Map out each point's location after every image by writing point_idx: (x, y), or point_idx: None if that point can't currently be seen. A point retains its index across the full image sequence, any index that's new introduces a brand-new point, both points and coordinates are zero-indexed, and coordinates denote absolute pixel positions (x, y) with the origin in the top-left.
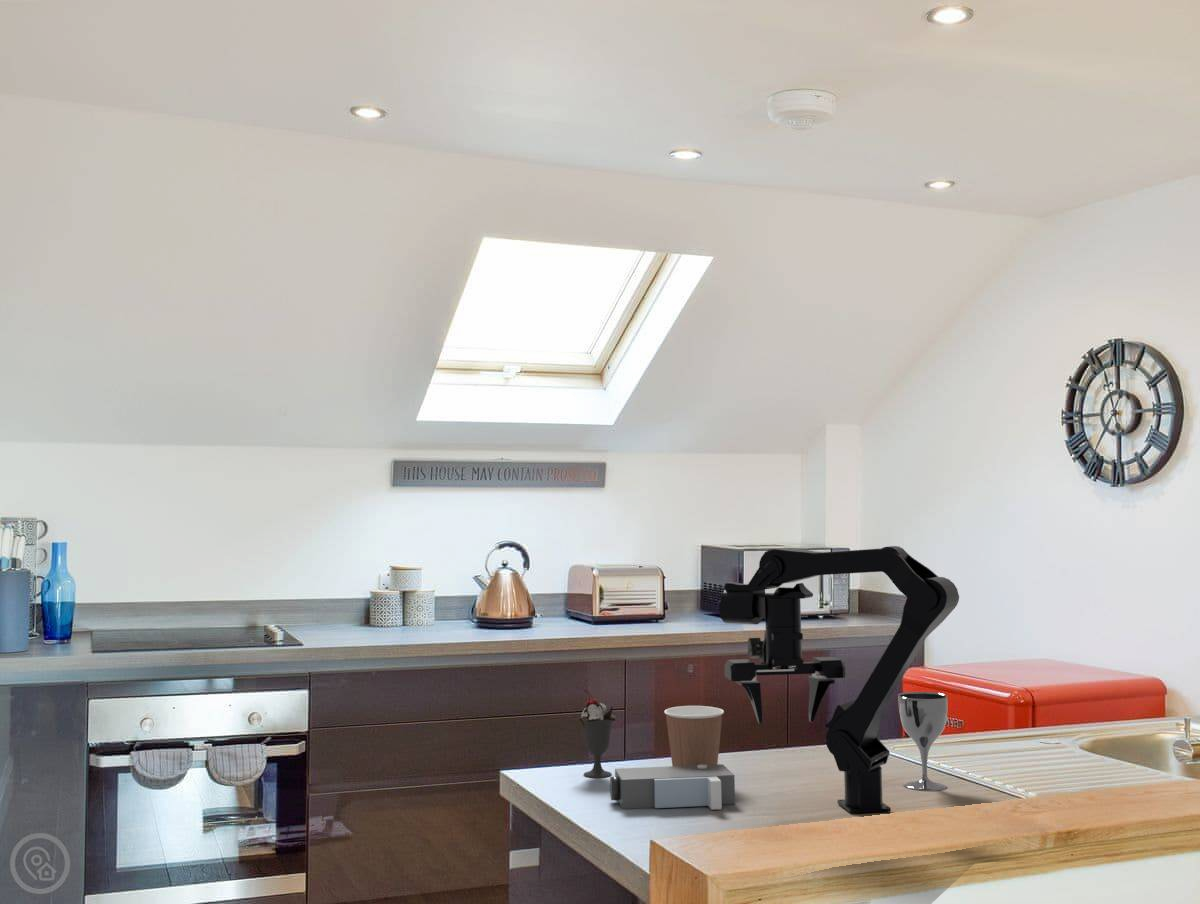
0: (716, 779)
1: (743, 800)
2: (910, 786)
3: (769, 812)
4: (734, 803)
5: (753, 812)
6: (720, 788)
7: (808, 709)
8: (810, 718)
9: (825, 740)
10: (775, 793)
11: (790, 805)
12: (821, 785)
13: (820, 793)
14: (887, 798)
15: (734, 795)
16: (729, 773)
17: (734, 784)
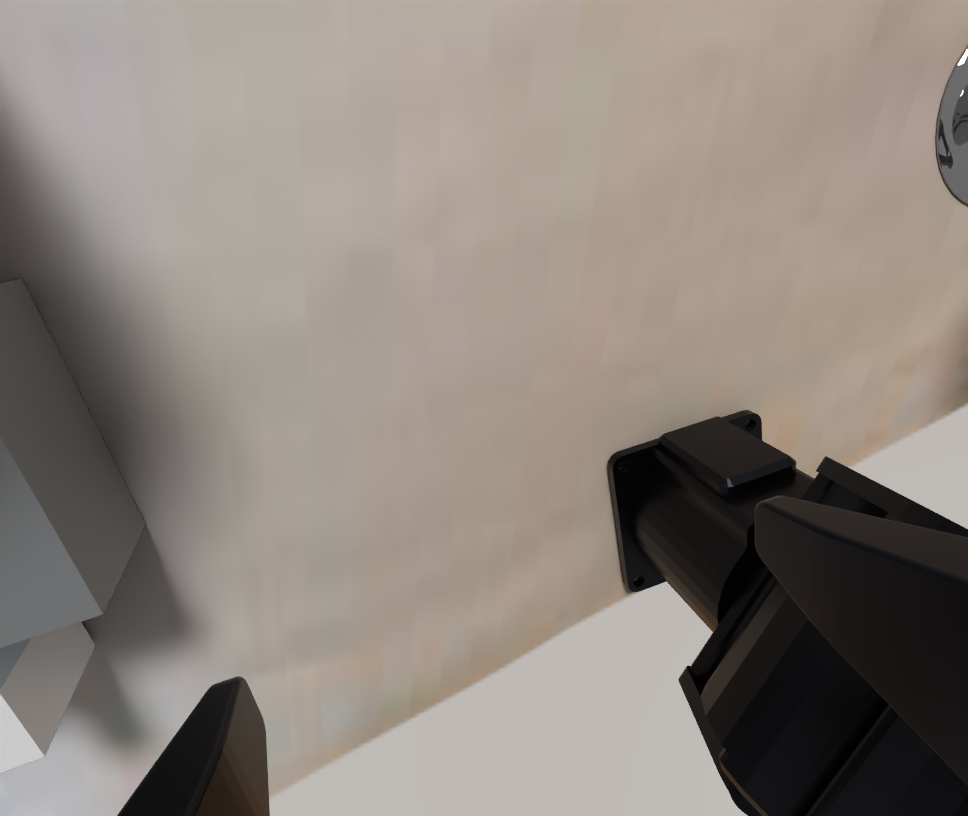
0: (4, 732)
1: (182, 451)
2: (954, 150)
3: (324, 620)
4: (143, 526)
5: (254, 634)
6: (56, 725)
7: (850, 547)
8: (778, 570)
9: (720, 761)
10: (347, 291)
11: (415, 504)
12: (599, 92)
13: (567, 275)
14: (804, 343)
15: (133, 546)
16: (59, 583)
17: (119, 579)
